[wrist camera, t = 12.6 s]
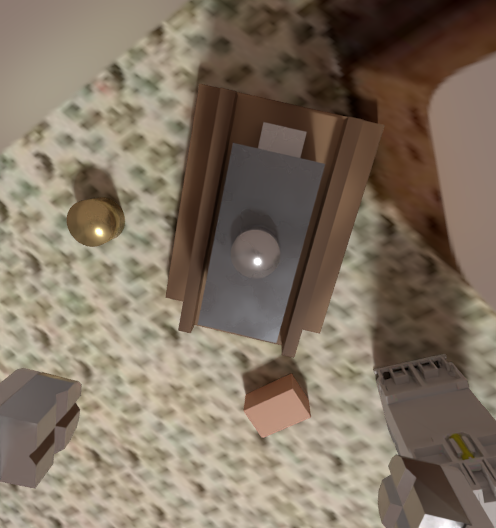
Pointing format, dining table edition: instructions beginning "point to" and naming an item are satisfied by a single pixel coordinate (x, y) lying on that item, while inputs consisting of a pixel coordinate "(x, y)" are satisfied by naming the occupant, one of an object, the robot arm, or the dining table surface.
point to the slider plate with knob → (260, 234)
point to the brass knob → (95, 221)
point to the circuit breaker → (441, 422)
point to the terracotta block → (277, 406)
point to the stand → (322, 218)
